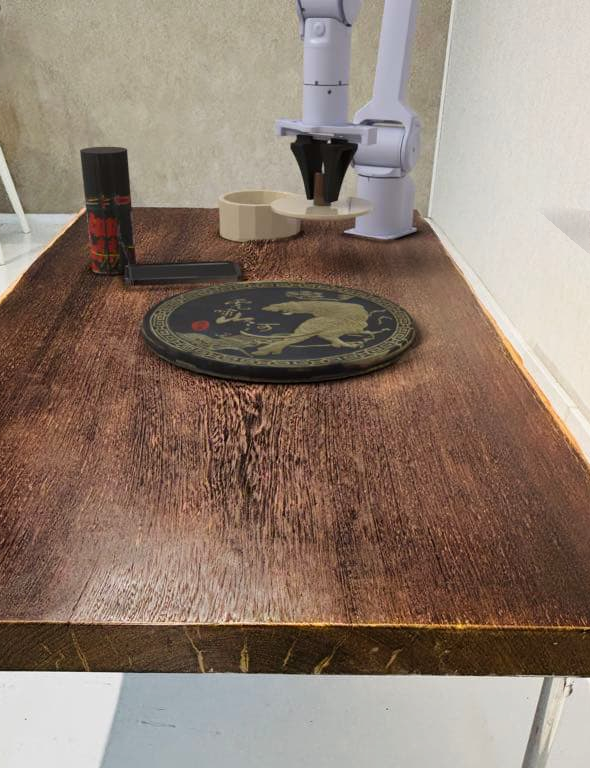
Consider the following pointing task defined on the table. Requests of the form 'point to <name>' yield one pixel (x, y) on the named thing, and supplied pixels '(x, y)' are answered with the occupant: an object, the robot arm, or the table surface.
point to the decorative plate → (278, 331)
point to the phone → (182, 273)
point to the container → (254, 216)
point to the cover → (321, 205)
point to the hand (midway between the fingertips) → (322, 200)
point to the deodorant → (108, 208)
